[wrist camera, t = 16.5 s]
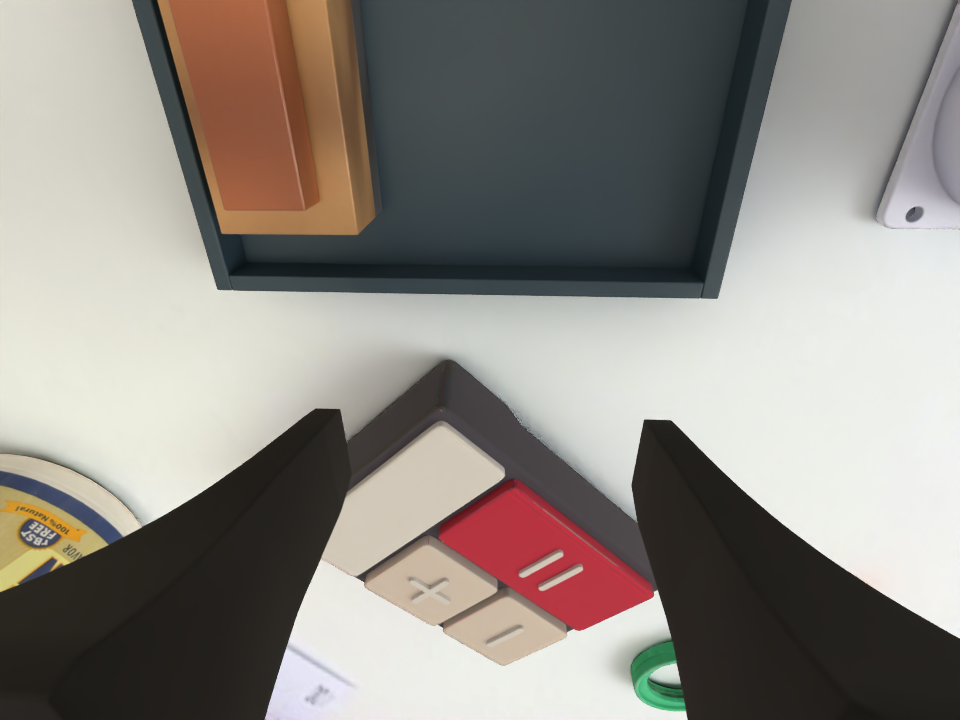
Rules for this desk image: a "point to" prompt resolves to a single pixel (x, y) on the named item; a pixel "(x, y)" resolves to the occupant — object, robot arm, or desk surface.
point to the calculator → (482, 524)
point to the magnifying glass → (650, 690)
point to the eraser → (279, 112)
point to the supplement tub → (52, 518)
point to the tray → (528, 149)
